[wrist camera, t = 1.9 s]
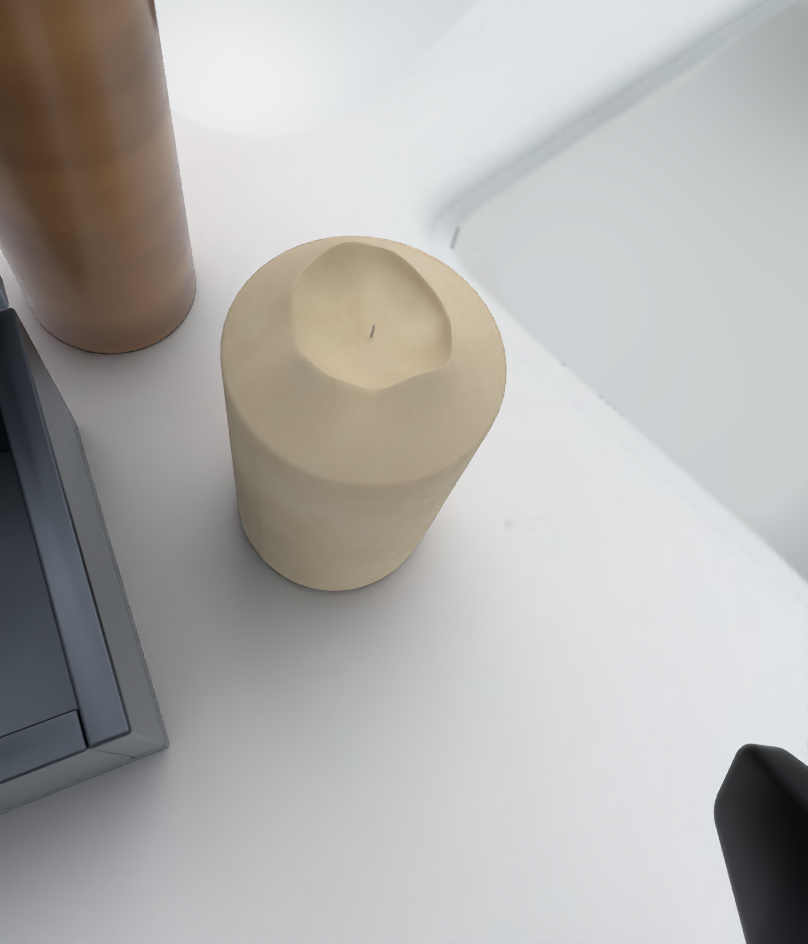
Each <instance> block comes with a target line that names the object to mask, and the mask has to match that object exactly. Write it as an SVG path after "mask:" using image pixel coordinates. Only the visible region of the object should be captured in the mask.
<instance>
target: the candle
mask: <svg viewBox="0 0 808 944" xmlns="http://www.w3.org/2000/svg"><path fill="white" fill-rule="evenodd" d="M220 359H221V368H222V376H223V385H224V393H225V401H226V410H227V418H228V426H229V435H230V443H231V451H232V459H233V468H234V476H235V484H236V493H237V500H238V508H239V513H240V517H241V521H242V525H243V528H244V530H245V532H246V535H247V537H248V539H249V541H250V542H251V544H252V546H253V547H254V549H255V550H256V552H257V553H258V554H259V555H260V556H261V558H262V559H263V560H264V561H265V562H266V563H267V564H268V565H269V566H270V567H271V568H272V569H274V570H275V571H276V572H278V573H279V574H281V575H282V576H283V577H285V578H287V579H289V580H291V581H293V582H295V583H297V584H300V585H303V586H305V587H309V588H313V589H318V590H326V591H345V590H351V589H357V588H360V587H363V586H367V585H369V584H372V583H374V582H376V581H378V580H381V579H382V578H384V577H386V576H387V575H389V574H390V573H392V572H393V571H395V570H396V569H397V568H398V567H399V566H401V565H402V564H403V563H404V561H405V560H406V559H407V558H408V557H409V556H410V555H411V553H412V552H413V551H414V549H415V548H416V546H417V545H418V543H419V542H420V541H421V539H422V538H423V536H424V534H425V533H426V531H427V530H428V528H429V526H430V525H431V523H432V522H433V520H434V518H435V517H436V515H437V513H438V512H439V510H440V509H441V507H442V505H443V504H444V502H445V501H446V499H447V497H448V496H449V494H450V493H451V491H452V489H453V488H454V486H455V485H456V483H457V481H458V480H459V478H460V477H461V475H462V473H463V472H464V470H465V469H466V467H467V465H468V464H469V462H470V460H471V459H472V457H473V456H474V454H475V452H476V451H477V449H478V448H479V446H480V444H481V443H482V441H483V440H484V438H485V436H486V435H487V433H488V431H489V430H490V428H491V426H492V424H493V422H494V420H495V418H496V416H497V414H498V412H499V409H500V406H501V403H502V400H503V397H504V391H505V385H506V358H505V350H504V346H503V342H502V339H501V335H500V332H499V330H498V327H497V325H496V323H495V320H494V318H493V316H492V314H491V313H490V311H489V309H488V308H487V306H486V304H485V303H484V302H483V300H482V299H481V298H480V296H479V295H478V294H477V292H476V291H475V290H474V289H473V288H472V287H471V286H470V285H469V284H468V283H467V282H466V281H465V280H464V279H463V278H462V277H461V276H460V275H459V274H457V273H456V272H455V271H454V270H453V269H451V268H450V267H449V266H447V265H445V264H444V263H442V262H441V261H439V260H438V259H436V258H434V257H433V256H431V255H429V254H427V253H425V252H423V251H421V250H418V249H416V248H413V247H410V246H408V245H405V244H402V243H398V242H395V241H391V240H387V239H381V238H374V237H364V236H342V237H331V238H326V239H320V240H316V241H312V242H309V243H305V244H302V245H299V246H297V247H295V248H292V249H290V250H288V251H285V252H284V253H282V254H280V255H279V256H277V257H275V258H274V259H272V260H270V261H269V262H268V263H267V264H265V265H264V266H263V267H261V268H260V269H259V270H258V271H257V272H256V273H255V274H254V275H253V276H252V277H251V278H250V279H249V280H248V281H247V282H246V283H245V285H244V286H243V287H242V289H241V290H240V291H239V293H238V294H237V296H236V298H235V300H234V301H233V303H232V305H231V307H230V309H229V312H228V315H227V317H226V320H225V323H224V327H223V333H222V338H221V358H220Z"/></svg>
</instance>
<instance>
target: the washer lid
mask: <svg viewBox="0 0 808 944" xmlns="http://www.w3.org/2000/svg"><path fill="white" fill-rule="evenodd" d="M8 306H9V302H8V299H7V295H6V291H5V288H4V284H3V281H2V278H1V276H0V310H1V309H6V308H8Z"/></svg>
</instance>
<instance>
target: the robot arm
mask: <svg viewBox="0 0 808 944" xmlns="http://www.w3.org/2000/svg"><path fill="white" fill-rule="evenodd" d="M714 819H715V825H716V829H717V833H718V836H719V840H720V844H721V848H722V852H723V856H724V859H725V863H726V867H727V871H728V875H729V879H730V883H731V886H732V890H733V894H734V898H735V902H736V906H737V909H738V913H739V917H740V921H741V925H742V929H743V933H744V936H745V940H746V944H808V766H807V765H805V764H804V763H803V762H801V761H800V760H798V759H797V758H796V757H794V756H793V755H792V754H790V753H789V752H787V751H786V750H784V749H782V748H779V747H773V746H765V745H758V744H746V745H744V746H742V747H741V748H740V749H739V750H738V752H737V753H736V755H735V758H734V760H733V762H732V764H731V766H730V768H729V771H728V773H727V775H726V777H725V779H724V781H723V784H722V786H721V788H720V790H719V792H718V794H717V797H716V800H715V805H714Z"/></svg>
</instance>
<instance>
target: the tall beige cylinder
mask: <svg viewBox="0 0 808 944" xmlns="http://www.w3.org/2000/svg"><path fill="white" fill-rule="evenodd" d="M0 248H1V250H2V252H3V254H4V256H5V258H6V259H7V261H8V263H9V265H10V267H11V269H12V271H13V273H14V275H15V277H16V279H17V281H18V283H19V285H20V287H21V289H22V291H23V293H24V295H25V297H26V299H27V301H28V303H29V305H30V307H31V309H32V311H33V313H34V314H35V316H36V318H37V319H38V321H39V322H40V323H41V324H42V326H43V327H44V328H45V329H46V330H47V331H48V332H49V333H51V334H52V335H53V336H55V337H56V338H58V339H59V340H61V341H63V342H64V343H66V344H68V345H71V346H73V347H76V348H78V349H82V350H86V351H90V352H96V353H112V354H113V353H125V352H130V351H135V350H138V349H142V348H145V347H147V346H150V345H152V344H154V343H156V342H158V341H160V340H161V339H163V338H165V337H166V336H167V335H169V334H170V333H171V332H173V331H174V330H175V329H176V328H177V327H178V326H179V325H180V324H181V322H182V321H183V320H184V318H185V317H186V316H187V314H188V312H189V310H190V308H191V306H192V303H193V301H194V296H195V291H196V279H195V271H194V264H193V258H192V251H191V244H190V238H189V231H188V224H187V217H186V211H185V204H184V197H183V191H182V184H181V177H180V171H179V164H178V157H177V151H176V144H175V137H174V130H173V124H172V117H171V110H170V104H169V97H168V91H167V84H166V77H165V71H164V65H163V57H162V51H161V44H160V37H159V30H158V24H157V17H156V10H155V4H154V0H0Z"/></svg>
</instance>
